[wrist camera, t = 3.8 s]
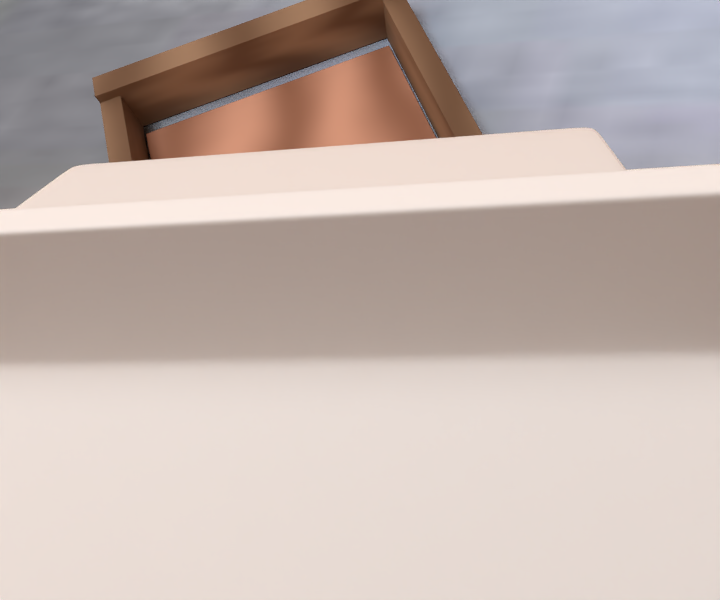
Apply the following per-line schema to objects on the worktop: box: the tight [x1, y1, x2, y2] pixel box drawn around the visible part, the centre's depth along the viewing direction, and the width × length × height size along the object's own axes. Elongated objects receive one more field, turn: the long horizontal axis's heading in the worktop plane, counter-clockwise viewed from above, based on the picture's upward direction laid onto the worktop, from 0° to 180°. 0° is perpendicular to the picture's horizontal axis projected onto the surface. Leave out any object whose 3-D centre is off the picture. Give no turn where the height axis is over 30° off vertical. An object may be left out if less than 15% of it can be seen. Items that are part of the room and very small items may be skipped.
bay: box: [92, 0, 482, 163], centre depth 25 cm, size 18×32×3 cm, turn 18°
